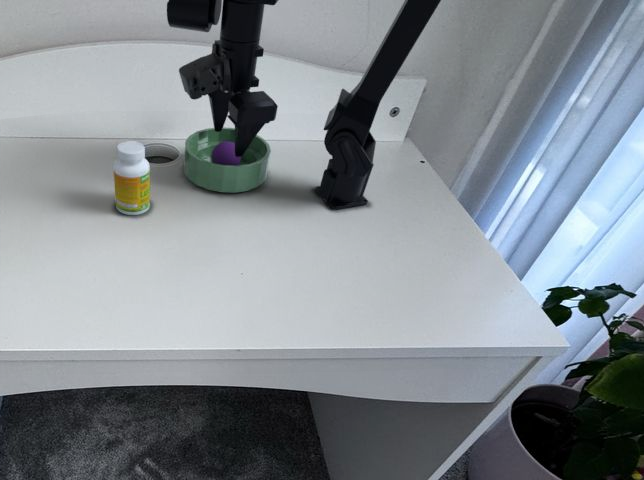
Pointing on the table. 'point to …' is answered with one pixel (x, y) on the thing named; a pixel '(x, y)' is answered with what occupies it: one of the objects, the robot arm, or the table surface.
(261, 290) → the table surface
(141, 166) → the supplement bottle
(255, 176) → the bowl
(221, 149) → the ball
